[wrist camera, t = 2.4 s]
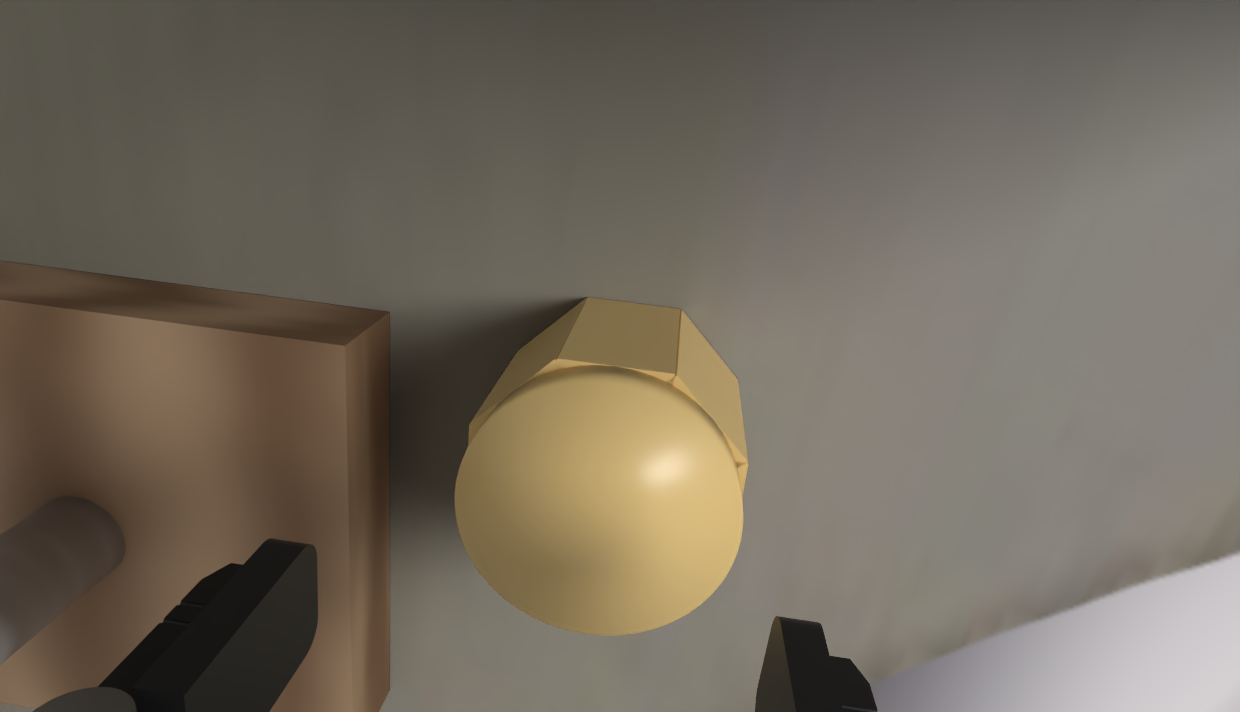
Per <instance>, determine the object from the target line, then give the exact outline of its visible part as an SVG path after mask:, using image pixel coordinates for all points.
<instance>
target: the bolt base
mask: <svg viewBox="0 0 1240 712" xmlns="http://www.w3.org/2000/svg"><path fill="white" fill-rule="evenodd" d="M270 538H273V539H279V540H286V541H293V542H299V543H306V544H312V545H314V546H315V548H316V552H317V578H318V623H317V629H316V633H315V637H314V640H313V643H312V645H311V648H310V650H309V652H308V654H307V655H306V657H305V658H304V660H303V661H302V663H301V664H300V666H299V668H298V669H297V671H296V672H295V674H294V675H293V677H292V678H291V680H290V681H289V683H288V684H287V686H286V687H285V689H284V690H283V692H282V693H281V695H280V696H279V698H278V699H277V701H276V703H275V704H274V706H273V707H272V709H271V710H270V712H379V710H380V708H381V706H382V704H383V702H384V700H385V698H386V696H387V694H388V692H389V690H390V312H386V311H378V310H371V309H363V308H355V307H348V306H340V305H332V304H325V303H317V302H310V301H302V300H294V299H287V298H279V297H271V296H264V295H256V294H249V293H241V292H233V291H226V290H218V289H210V288H203V287H195V286H188V285H180V284H172V283H165V282H157V281H149V280H142V279H134V278H127V277H119V276H111V275H104V274H96V273H88V272H81V271H73V270H66V269H58V268H50V267H43V266H35V265H27V264H20V263H12V262H5V261H0V703H6V704H12V705H18V706H25V707H31V708H38V707H40V706H41V705H43V704H44V703H46V702H48V701H50V700H52V699H54V698H56V697H58V696H61V695H63V694H66V693H69V692H72V691H75V690H79V689H84V688H91V687H98V686H99V685H100V684H101V683H102V682H103V681H104V680H105V679H106V677H107V676H108V675H109V674H110V673H111V672H112V671H113V670H114V669H115V668H116V667H117V666H118V665H119V664H120V663H121V662H122V661H123V660H124V659H125V658H126V657H127V656H128V655H129V654H130V653H131V652H132V651H133V650H134V649H135V647H136V646H137V645H138V644H139V643H140V642H141V641H142V640H143V639H144V638H145V637H146V636H147V635H148V634H149V633H150V632H151V631H152V630H153V629H154V628H155V627H156V626H157V625H158V624H159V623H163V621H164V618H165V616H166V615H167V614H168V613H169V612H170V611H171V610H172V609H173V608H174V607H175V606H176V605H180V603H181V600H182V599H183V598H184V597H185V596H186V595H187V594H188V593H189V592H190V591H191V590H192V589H193V588H194V587H195V585H196V584H197V583H198V582H199V581H200V580H201V579H203V578H205V577H207V576H208V575H210V574H212V573H214V572H216V571H217V570H219V569H221V568H223V567H224V566H226V565H228V564H230V563H235V564H242V565H243V564H244V563H245V562H246V561H247V560H248V559H249V558H250V557H251V556H252V554H253V553H254V552H255V551H256V550H257V549H258V548H259V547H260V546H261V545H262V543H264V542H265V541H266V540H267V539H270Z"/></svg>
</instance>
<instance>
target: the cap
mask: <svg viewBox="0 0 1240 712" xmlns="http://www.w3.org/2000/svg"><path fill="white" fill-rule="evenodd" d="M747 468H748V457H747V449H746V441H745V433H744V425H743V417H742V409H741V401H740V393H739V385H738V379H737V378H736V377H735V376H734V374H733V373H732V372H731V371H730V369H729V368H728V367H727V366H726V364H725V363H724V362H723V361H722V359H721V358H720V357H719V356H718V354H717V353H716V352H715V351H714V349H713V348H712V347H711V346H710V344H709V343H708V342H707V341H706V339H705V338H704V337H703V336H702V334H701V333H700V332H699V331H698V329H697V328H696V327H695V326H694V324H693V323H692V322H691V321H690V319H689V318H688V317H687V316H686V314H685V313H684V312H683V311H682V310H681V311H680V309H676V308H669V307H661V306H653V305H645V304H637V303H630V302H622V301H614V300H606V299H598V298H591V297H588V298H585V299H584V300H583V301H581V302H580V303H579V304H578V305H576V306H575V307H574V308H572V309H571V310H570V311H569V312H567V313H566V314H565V315H563V316H562V317H561V318H559V319H558V320H557V321H556V322H554V323H553V324H552V325H550V326H549V327H548V328H547V329H545V330H544V331H543V332H541V333H540V334H539V335H537V336H536V337H535V338H534V339H532V340H531V341H530V342H528V343H527V344H526V345H524V346H523V347H522V348H521V349H519V350H518V351H517V353H516V354H515V356H514V357H513V359H512V360H511V362H510V363H509V365H508V366H507V368H506V369H505V371H504V373H503V374H502V376H501V377H500V379H499V380H498V382H497V383H496V385H495V386H494V388H493V389H492V391H491V392H490V394H489V395H488V397H487V398H486V400H485V401H484V403H483V404H482V406H481V407H480V409H479V410H478V412H477V413H476V415H475V416H474V418H473V419H472V421H471V422H470V424H469V441H468V448H467V450H466V453H465V455H464V457H463V459H462V462H461V464H460V468H459V471H458V475H457V479H456V487H455V514H456V520H457V525H458V530H459V533H460V536H461V539H462V542H463V545H464V547H465V549H466V551H467V553H468V555H469V557H470V559H471V560H472V562H473V564H474V565H475V567H476V568H477V570H478V571H479V573H480V574H481V575H482V576H483V577H484V579H485V580H486V581H487V582H488V583H489V585H490V586H491V587H492V588H493V589H494V590H495V591H497V592H498V593H499V594H500V595H501V596H502V597H503V598H504V599H506V600H507V601H508V602H510V603H511V604H512V605H514V606H515V607H516V608H518V609H519V610H521V611H523V612H525V613H526V614H528V615H530V616H532V617H533V618H536V619H538V620H540V621H542V622H545V623H547V624H549V625H552V626H555V627H558V628H562V629H565V630H569V631H573V632H578V633H583V634H592V635H625V634H634V633H639V632H644V631H648V630H652V629H655V628H658V627H661V626H664V625H666V624H669V623H671V622H673V621H675V620H677V619H679V618H681V617H683V616H685V615H686V614H688V613H689V612H691V611H692V610H694V609H695V608H697V607H698V606H699V605H701V604H702V603H703V602H704V601H705V600H706V599H707V598H708V597H710V596H711V595H712V593H713V592H714V591H715V590H716V589H717V588H718V586H719V585H720V584H721V583H722V581H723V580H724V578H725V577H726V575H727V573H728V572H729V570H730V569H731V566H732V564H733V562H734V560H735V557H736V555H737V552H738V549H739V545H740V541H741V537H742V528H743V504H742V495H743V490H744V484H745V479H746V474H747Z"/></svg>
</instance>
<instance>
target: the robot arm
mask: <svg viewBox="0 0 1240 712" xmlns="http://www.w3.org/2000/svg"><path fill="white" fill-rule="evenodd" d="M317 623H318V578H317V552H316V548H315V546H314V545H312V544H306V543H299V542H293V541H286V540H279V539H273V538H270V539H267V540H266V541H265V542H264V543H262V545H261V546H260V547H259V548H258V549H257V550H256V551H255V552H254V553H253V554H252V556H251V557H250V558H249V559H248V560H247V561H246V562H245V563H244V564H243V565H242V564H235V563H230V564H228V565H226V566H224V567H223V568H221V569H219V570H217V571H216V572H214V573H212V574H210V575H208V576H207V577H205V578H203V579H201V580H200V581H199V582H198V583H197V584H196V585H195V587H194V588H193V589H192V590H191V591H190V592H189V593H188V594H187V595H186V596H185V597H184V598H183V599H182V600H181V603H180V605H176V606H175V607H174V608H173V609H172V610H171V611H170V612H169V613H168V614H167V615H166V616H165V618H164V621H163V623H159V624H158V625H157V626H156V627H155V628H154V629H153V630H152V631H151V632H150V633H149V634H148V635H147V636H146V637H145V638H144V639H143V640H142V641H141V642H140V643H139V644H138V645H137V646H136V647H135V649H134V650H133V651H132V652H131V653H130V654H129V655H128V656H127V657H126V658H125V659H124V660H123V661H122V662H121V663H120V664H119V665H118V666H117V667H116V668H115V669H114V670H113V671H112V672H111V673H110V674H109V675H108V676H107V677H106V679H105V680H104V681H103V682H102V683H101V684H100V685H99V686H98V687H91V688H84V689H79V690H75V691H72V692H69V693H66V694H63V695H61V696H58V697H56V698H54V699H52V700H50V701H48V702H46V703H44V704H43V705H41V706H40V707H38V708H37V709H35V710H34V711H33V712H270V710H271V709H272V707H273V706H274V704H275V703H276V701H277V699H278V698H279V696H280V695H281V693H282V692H283V690H284V689H285V687H286V686H287V684H288V683H289V681H290V680H291V678H292V677H293V675H294V674H295V672H296V671H297V669H298V668H299V666H300V664H301V663H302V661H303V660H304V658H305V657H306V655H307V654H308V652H309V650H310V648H311V645H312V643H313V640H314V637H315V633H316V629H317ZM755 712H877V707H876V704H875V701H874V698H873V694H872V691H871V687H870V684H869V683H868V681H867V680H866V679H865V678H864V676H863V675H862V674H861V672H860V671H859V670H858V669H857V667H856V666H855V665H854V664H853V662H852V661H851V660H850V659H847V658H840V657H834V656H829V652H828V648H827V644H826V640H825V636H824V632H823V628H822V626H821V624H820V623H818V622H811V621H805V620H798V619H792V618H785V617H778V616H776V617H775V619H774V621H773V624H772V627H771V632H770V636H769V640H768V645H767V649H766V653H765V658H764V662H763V666H762V671H761V675H760V679H759V683H758V688H757V695H756V706H755Z"/></svg>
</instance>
